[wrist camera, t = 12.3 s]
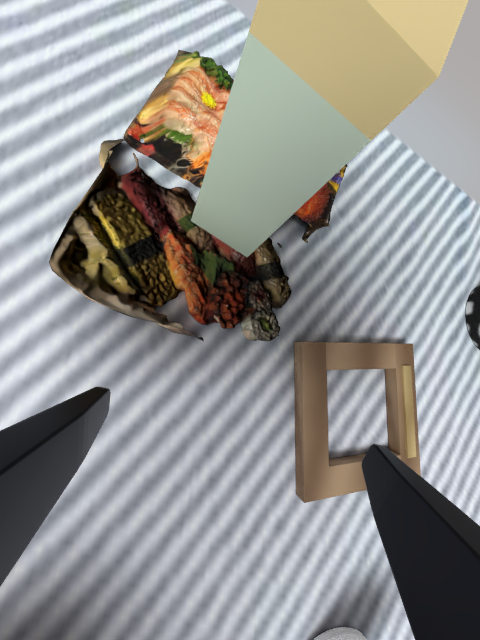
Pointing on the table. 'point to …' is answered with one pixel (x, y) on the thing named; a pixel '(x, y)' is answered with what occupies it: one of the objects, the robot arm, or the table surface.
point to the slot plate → (312, 415)
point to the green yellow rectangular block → (314, 102)
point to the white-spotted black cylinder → (474, 316)
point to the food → (175, 220)
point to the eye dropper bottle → (341, 634)
